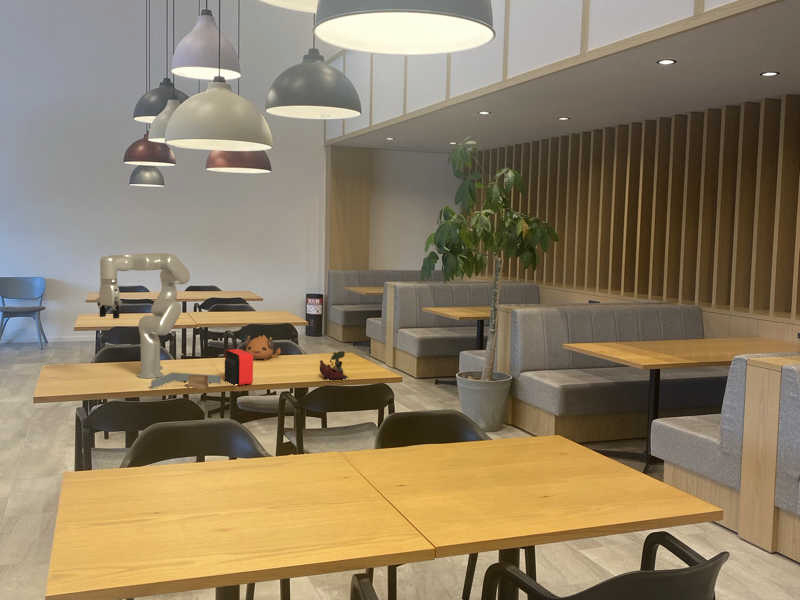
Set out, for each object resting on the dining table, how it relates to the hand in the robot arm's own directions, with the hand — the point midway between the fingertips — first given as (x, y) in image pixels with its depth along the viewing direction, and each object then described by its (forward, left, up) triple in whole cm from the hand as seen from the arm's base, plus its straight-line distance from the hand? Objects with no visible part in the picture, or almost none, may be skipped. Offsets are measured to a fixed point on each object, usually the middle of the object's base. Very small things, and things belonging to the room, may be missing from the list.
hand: (109, 317), depth 369 cm
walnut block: (-6, +43, -33) cm, 55 cm away
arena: (-9, +36, -33) cm, 50 cm away
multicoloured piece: (-47, +100, -34) cm, 116 cm away
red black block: (-23, +56, -33) cm, 69 cm away
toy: (-90, +45, -33) cm, 106 cm away
